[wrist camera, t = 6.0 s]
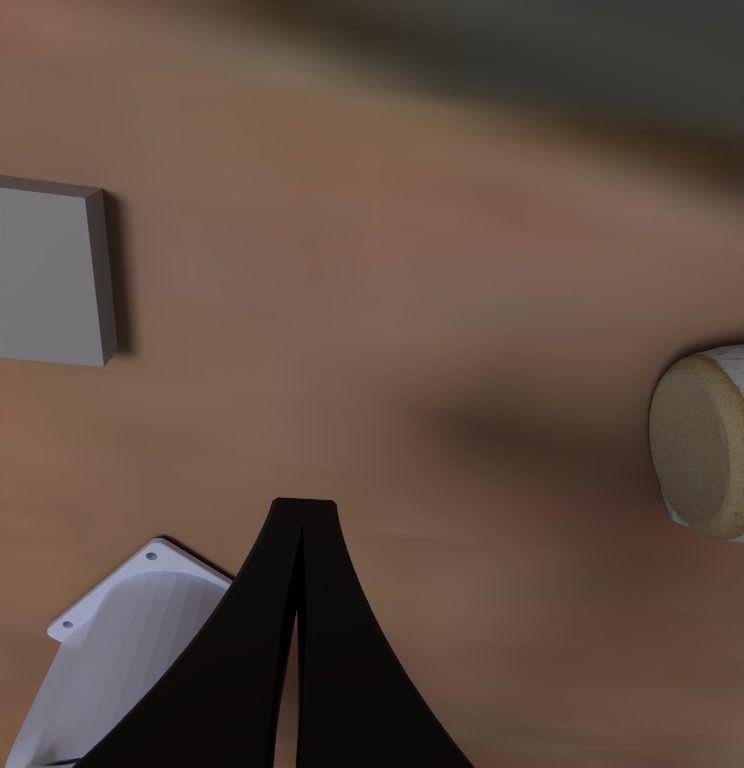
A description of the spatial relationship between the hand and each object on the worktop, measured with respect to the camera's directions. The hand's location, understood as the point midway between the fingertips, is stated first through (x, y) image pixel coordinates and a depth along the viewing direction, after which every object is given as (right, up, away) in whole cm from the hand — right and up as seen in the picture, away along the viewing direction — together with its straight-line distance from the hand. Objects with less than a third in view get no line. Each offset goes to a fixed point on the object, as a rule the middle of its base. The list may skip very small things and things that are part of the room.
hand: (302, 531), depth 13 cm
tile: (-8, +7, +7) cm, 12 cm away
